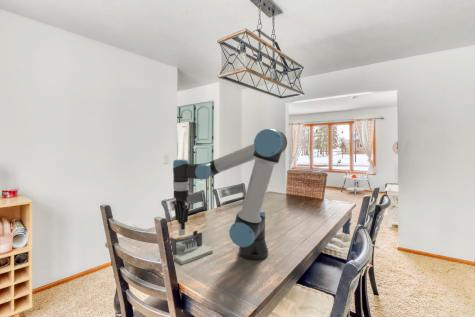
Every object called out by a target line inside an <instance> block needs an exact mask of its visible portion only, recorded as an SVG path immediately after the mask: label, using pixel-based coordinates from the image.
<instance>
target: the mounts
mask: <svg viewBox="0 0 475 317" xmlns="http://www.w3.org/2000/svg"><path fill="white" fill-rule="evenodd" d="M195 234H198V238H194V239H193V240H194V241H196V242H197V246H198V247H199V246H201V245H203V232H199V233H198V230H193V231H192V235H195ZM176 239H177V238H175V237H173V236H172V237H169V242H170V241H171V246H172V252H173V254H174V255H176V241H177V240H176Z"/></svg>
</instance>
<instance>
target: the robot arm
mask: <svg viewBox="0 0 475 317" xmlns="http://www.w3.org/2000/svg"><path fill="white" fill-rule="evenodd" d="M254 137H255V138H254V139H253V143H252V144H250V145H247V146H245V147H242V148H241V149H238V150H235V151H233V152H231V153H228V154H226V155H223V156H221V157H217V158H216V159H214V160H210V161H208V162H203V163H201V162H200V163H189V160H188V159H175V160H173V164H172V171H173V172H172V173H173V180H172V181H173V184H172V186H173V198H174V199H175V201H173V202H172V204H173V210H174V214H175V220H176V221H177V223H178V236H179V237H183V236H184V235H186V227H185V226H186V223H188V220H189V213H190V208H191V204H188V197H189V196H190V195H189V192H190V191H189V179H190V180H200V181H201V180H208V179H209V178H210V177H213V176H216V175H218V174H220V173H222V172H225V171H228V170H231V169H233V168H235V167H239V166H241V165H243V164H246V163H249V162H252V161H254V163H253V167H252V171H251V175H250V177H249V181H248V186H247V189H246V192H245V195H244V199H243V203H242V206H241V209H240V210H239V211H237V212H236V217H235V220H234V223H233V224H232V225H231V226H230V227H229V230H228V231H229V232H228V233H229V238H230V239H231V242H232V243H233V244H235V246H237V247H239V248H238V255H239V256H240V257H241V258H243V259H246V260H251V261H258V260H259V261H260V260H263V259H265V258H267V257H268V255H269V248H268V245H267V241H266V212H265V210H264V209H262V207H263V204H264V202H265V198H266V194H267V191H268V187H269V183H270V181H271V177H272V173H273V171H274V170H273V169H274V167H275V166H276V165H278V164H279V161H280V159H281V155H282V153H283V152H284V151H286V149H287V146H288V138H287V137H286V135H285V134H284V133H283V132H282V131H280V130H277V129H274V128H265V129H262V130H261V131H259V132H257V134H256V135H255V136H254Z"/></svg>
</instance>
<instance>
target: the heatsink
mask: <svg viewBox="0 0 475 317" xmlns="http://www.w3.org/2000/svg"><path fill="white" fill-rule="evenodd" d="M176 249H178V250H180V251H181V252H183V253H187V252H190V251H193V250H196V249H198V246H197V242H196V241H194V240H192V239H190V240H185V241H181V242H177V245H176Z"/></svg>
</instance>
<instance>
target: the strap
mask: <svg viewBox="0 0 475 317" xmlns="http://www.w3.org/2000/svg"><path fill="white" fill-rule="evenodd" d="M194 238H198V233H197V234H195V235H193V234H192V235H188V236H179V237H177V238H175V239H176V240H177V241H176V242H181V241H185V240H190V239H194Z"/></svg>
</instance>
